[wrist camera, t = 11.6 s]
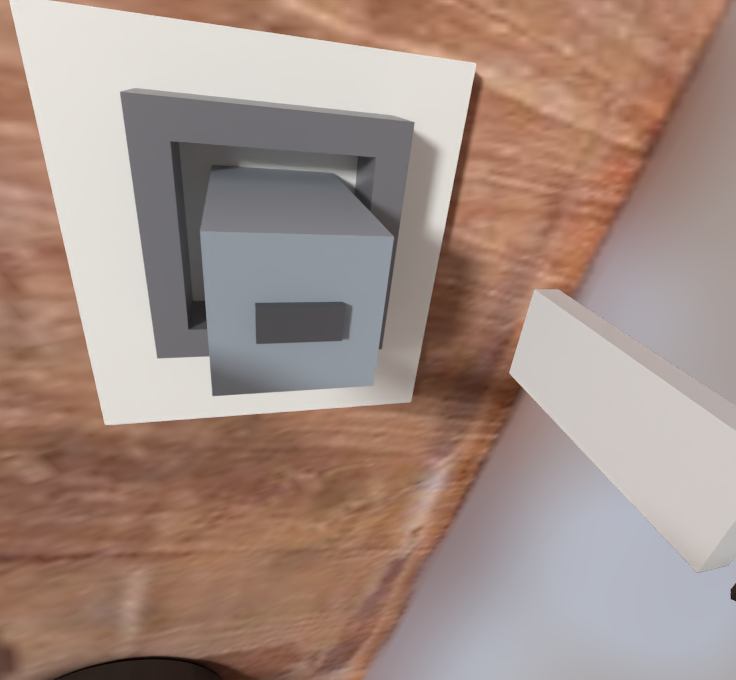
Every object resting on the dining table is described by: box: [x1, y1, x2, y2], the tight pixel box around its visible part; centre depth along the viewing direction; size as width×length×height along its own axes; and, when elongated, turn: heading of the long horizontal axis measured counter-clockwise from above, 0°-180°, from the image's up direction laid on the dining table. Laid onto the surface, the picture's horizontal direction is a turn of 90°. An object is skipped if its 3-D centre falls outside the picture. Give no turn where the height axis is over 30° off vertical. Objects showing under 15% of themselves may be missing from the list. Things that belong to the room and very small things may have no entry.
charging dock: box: [9, 0, 477, 425], centre depth 18 cm, size 16×15×4 cm
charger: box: [200, 165, 394, 396], centre depth 15 cm, size 4×4×8 cm
